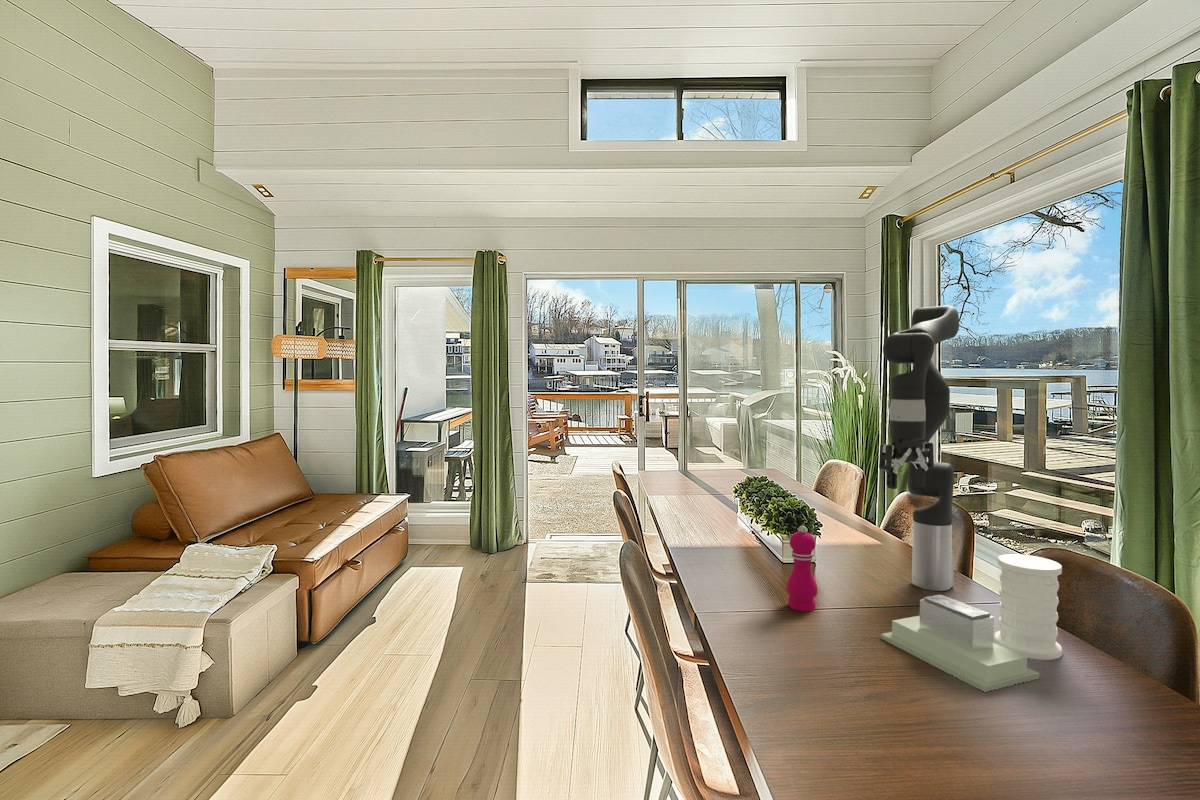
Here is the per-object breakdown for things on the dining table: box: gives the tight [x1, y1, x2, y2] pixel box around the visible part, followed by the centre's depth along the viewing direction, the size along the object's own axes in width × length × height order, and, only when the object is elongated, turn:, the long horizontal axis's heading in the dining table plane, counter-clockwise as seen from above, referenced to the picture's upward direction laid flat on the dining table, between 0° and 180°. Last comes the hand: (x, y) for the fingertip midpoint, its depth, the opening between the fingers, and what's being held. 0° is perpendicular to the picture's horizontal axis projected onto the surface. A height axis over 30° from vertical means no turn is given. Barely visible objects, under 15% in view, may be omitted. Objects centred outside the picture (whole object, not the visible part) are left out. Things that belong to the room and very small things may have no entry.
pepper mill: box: [786, 525, 818, 612], centre depth 150 cm, size 7×7×20 cm
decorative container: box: [993, 553, 1063, 661], centre depth 128 cm, size 12×12×18 cm
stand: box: [880, 615, 1040, 693], centre depth 124 cm, size 14×24×4 cm, turn 20°
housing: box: [919, 594, 995, 652], centre depth 123 cm, size 12×6×7 cm, turn 21°
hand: (906, 487), depth 145 cm, fingers open, 8 cm apart
